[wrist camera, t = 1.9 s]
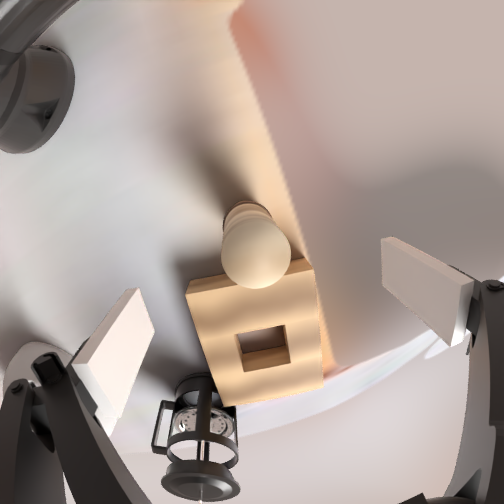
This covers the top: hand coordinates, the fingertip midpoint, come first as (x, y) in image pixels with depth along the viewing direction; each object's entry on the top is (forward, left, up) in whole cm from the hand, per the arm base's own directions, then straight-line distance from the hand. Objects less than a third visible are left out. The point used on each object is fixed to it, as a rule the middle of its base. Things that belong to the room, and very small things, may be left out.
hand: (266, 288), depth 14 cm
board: (+15, -1, -19) cm, 24 cm away
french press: (+24, -12, -19) cm, 33 cm away
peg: (0, 0, -19) cm, 19 cm away
